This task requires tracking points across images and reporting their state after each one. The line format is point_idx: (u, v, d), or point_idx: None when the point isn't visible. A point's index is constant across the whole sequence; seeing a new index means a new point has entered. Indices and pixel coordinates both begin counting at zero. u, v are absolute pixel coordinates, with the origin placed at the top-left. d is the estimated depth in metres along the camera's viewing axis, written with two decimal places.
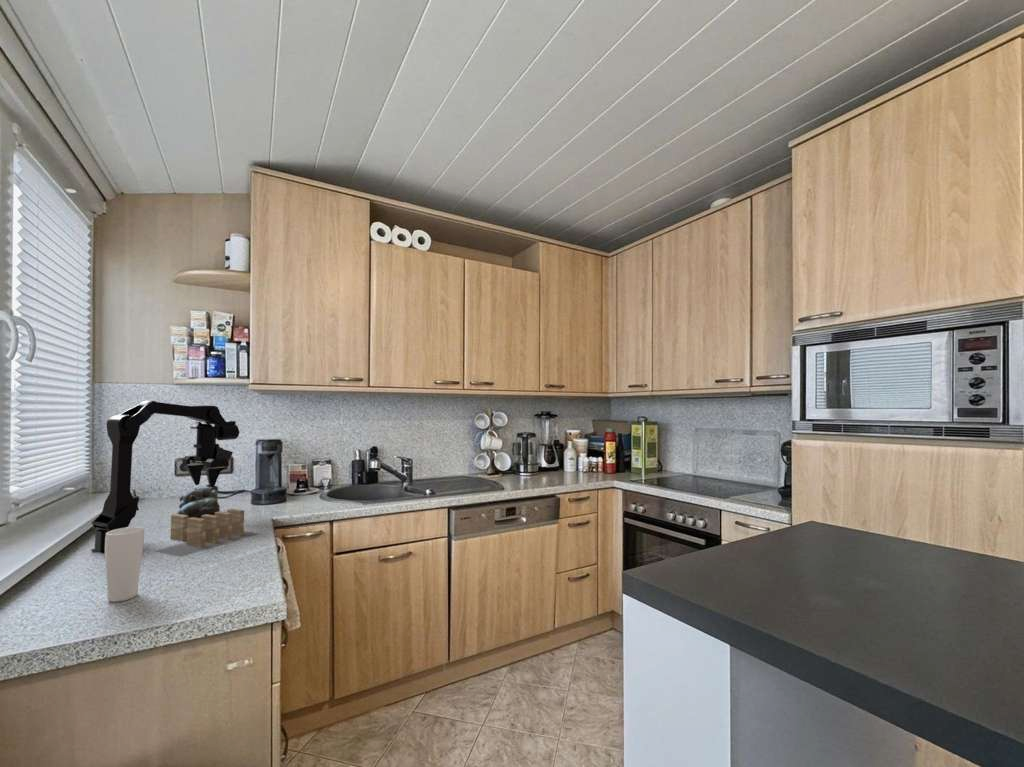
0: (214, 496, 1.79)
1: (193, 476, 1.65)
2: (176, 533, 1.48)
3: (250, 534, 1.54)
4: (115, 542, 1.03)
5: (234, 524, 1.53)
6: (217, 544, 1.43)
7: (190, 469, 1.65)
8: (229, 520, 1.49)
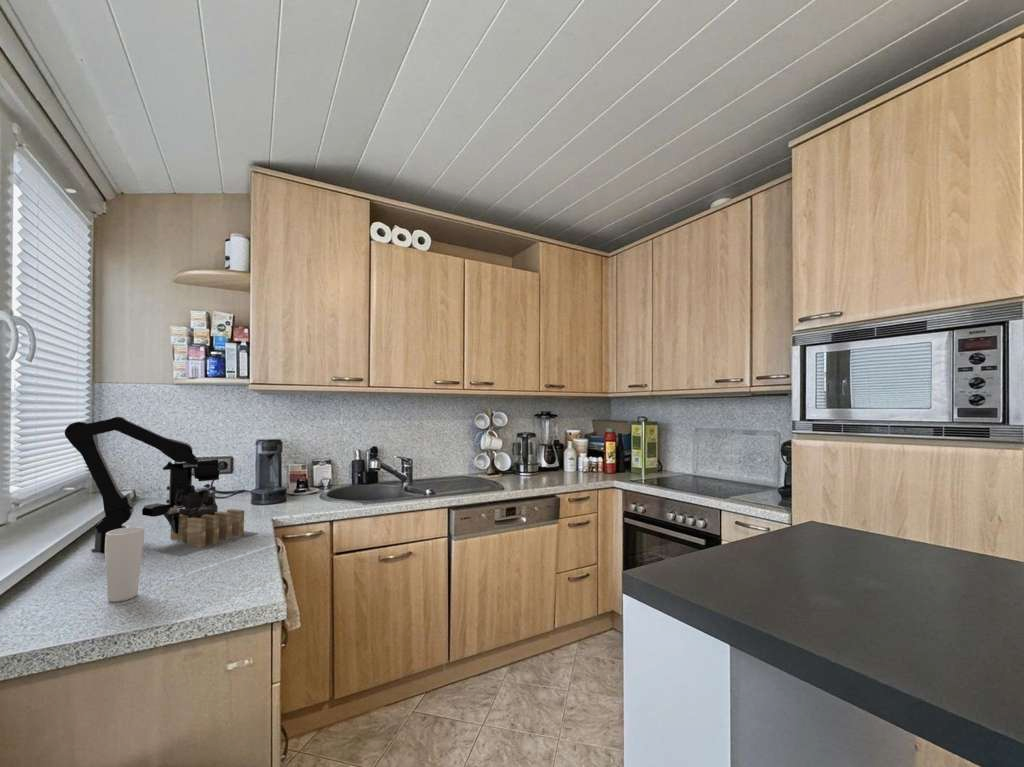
0: None
1: None
2: None
3: (250, 534, 1.54)
4: (115, 542, 1.03)
5: (234, 524, 1.53)
6: (217, 544, 1.43)
7: None
8: (229, 520, 1.49)
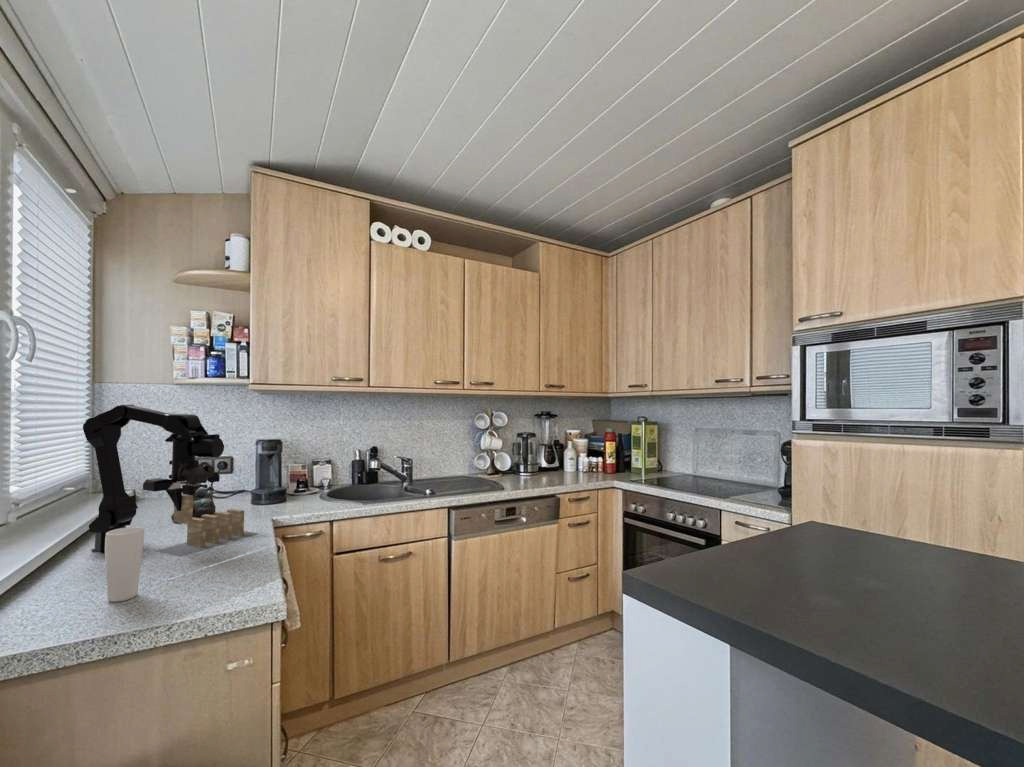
0: (210, 497, 1.77)
1: None
2: (179, 514, 1.38)
3: (250, 534, 1.54)
4: (115, 542, 1.03)
5: (234, 524, 1.53)
6: (217, 544, 1.43)
7: None
8: (229, 520, 1.49)
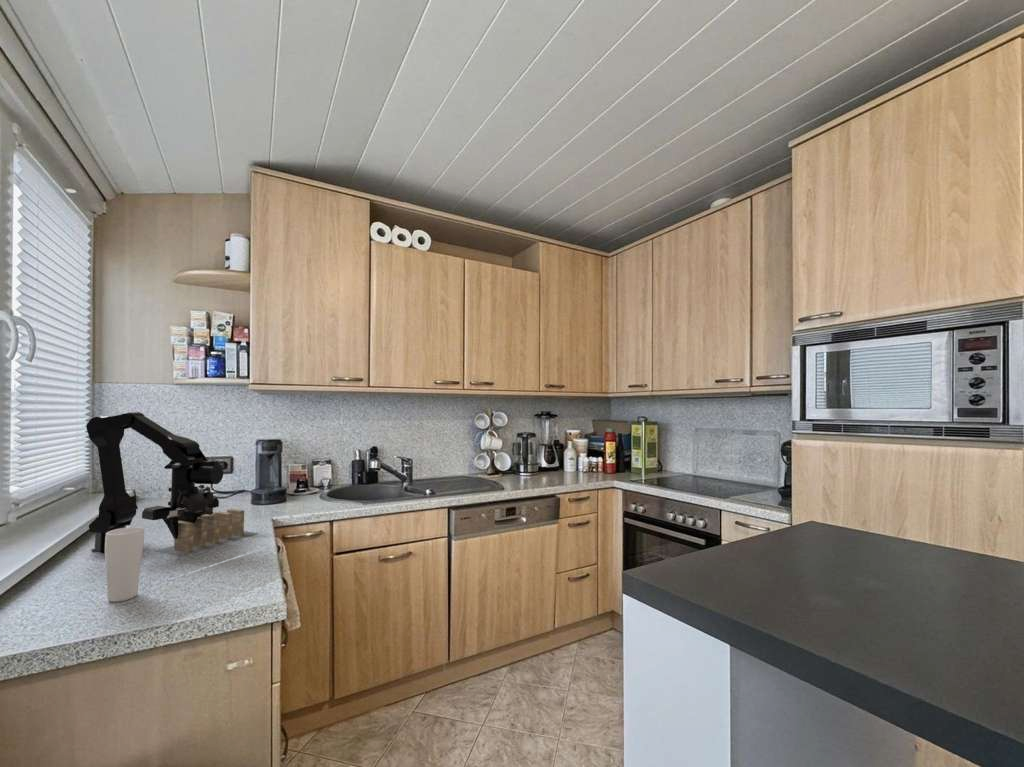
0: None
1: None
2: (180, 542, 1.37)
3: (250, 534, 1.54)
4: (115, 542, 1.03)
5: (234, 524, 1.53)
6: (217, 544, 1.43)
7: (184, 515, 1.41)
8: (229, 520, 1.49)
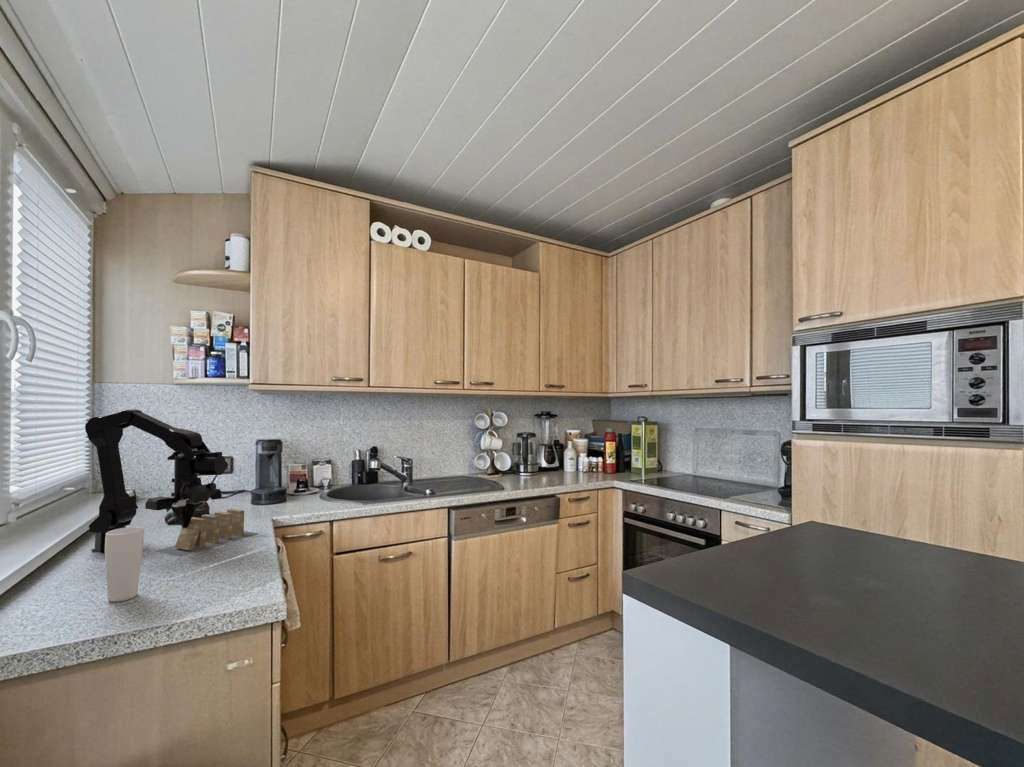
0: None
1: None
2: (183, 539, 1.38)
3: (250, 534, 1.54)
4: (115, 542, 1.03)
5: (234, 524, 1.53)
6: (217, 544, 1.43)
7: None
8: (229, 520, 1.49)
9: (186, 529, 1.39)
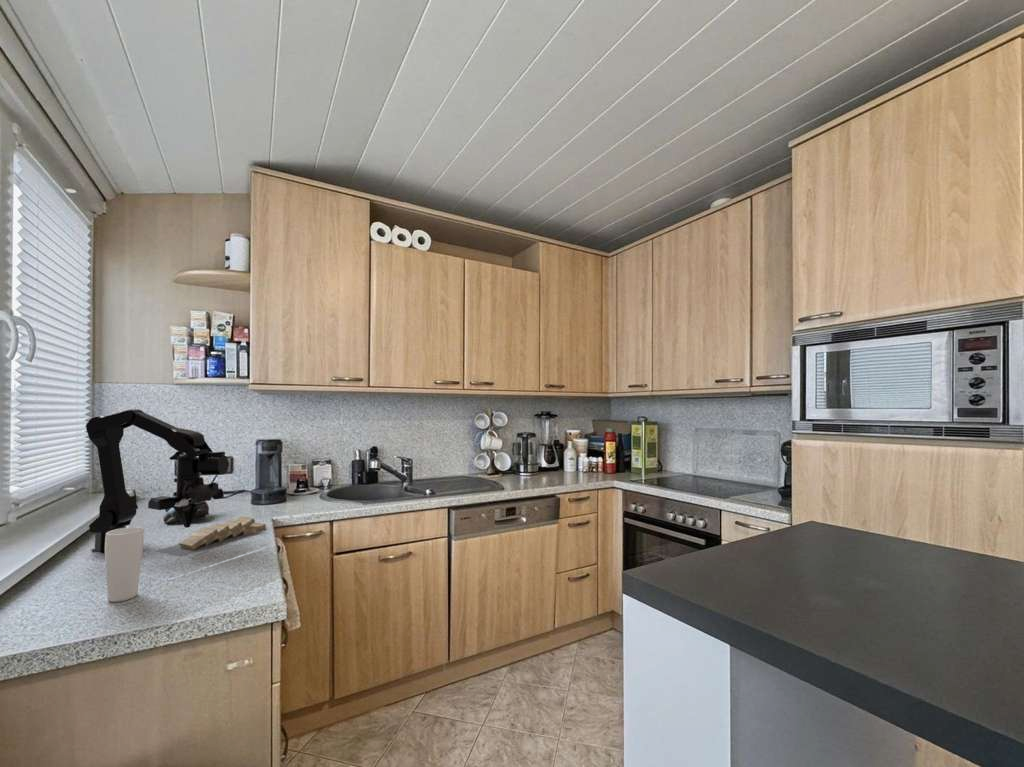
0: None
1: None
2: (192, 539, 1.41)
3: (250, 534, 1.54)
4: (115, 542, 1.03)
5: None
6: (217, 544, 1.43)
7: None
8: (248, 523, 1.55)
9: (200, 532, 1.43)
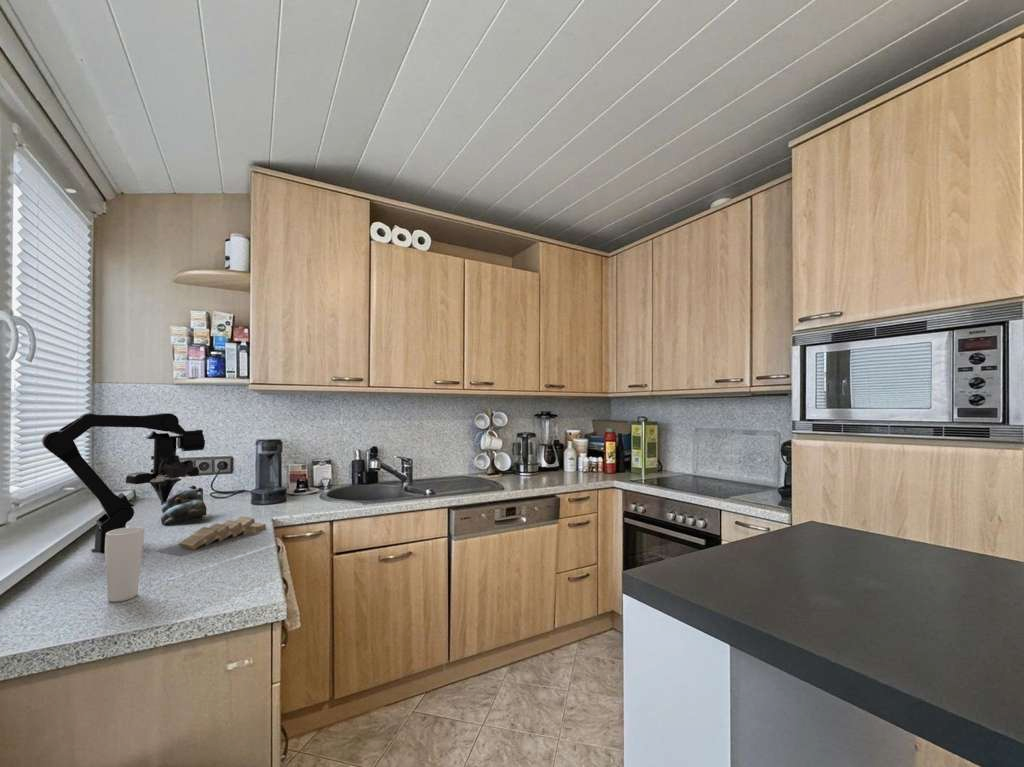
0: (200, 498, 1.75)
1: None
2: (192, 539, 1.41)
3: (250, 534, 1.54)
4: (115, 542, 1.03)
5: None
6: (217, 544, 1.43)
7: None
8: (248, 523, 1.55)
9: (200, 532, 1.43)
